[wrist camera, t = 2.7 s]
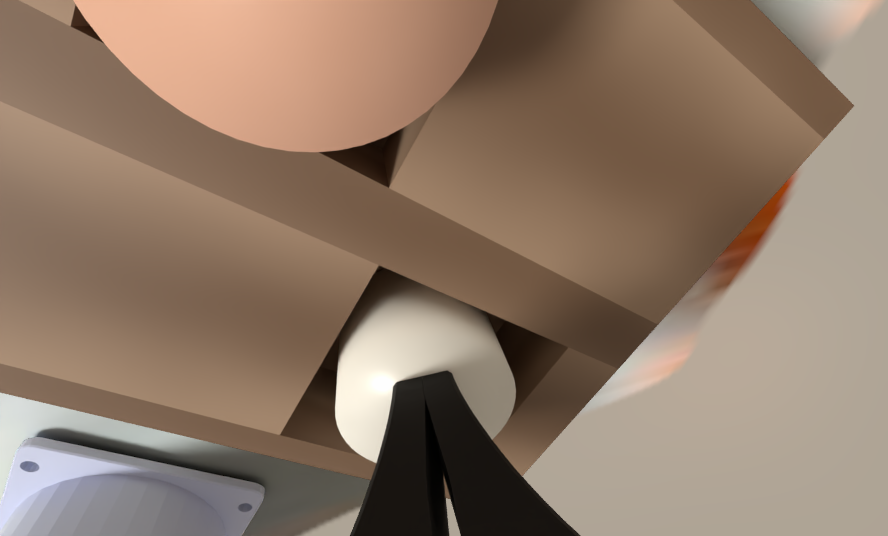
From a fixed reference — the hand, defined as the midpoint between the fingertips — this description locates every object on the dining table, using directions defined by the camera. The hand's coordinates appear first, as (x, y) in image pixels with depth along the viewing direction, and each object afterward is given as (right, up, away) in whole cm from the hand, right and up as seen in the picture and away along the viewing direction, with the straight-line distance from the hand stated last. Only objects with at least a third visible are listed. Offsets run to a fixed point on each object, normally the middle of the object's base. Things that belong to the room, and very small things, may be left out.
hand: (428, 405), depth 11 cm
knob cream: (-1, +2, +3) cm, 3 cm away
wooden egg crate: (-2, +6, +2) cm, 6 cm away
